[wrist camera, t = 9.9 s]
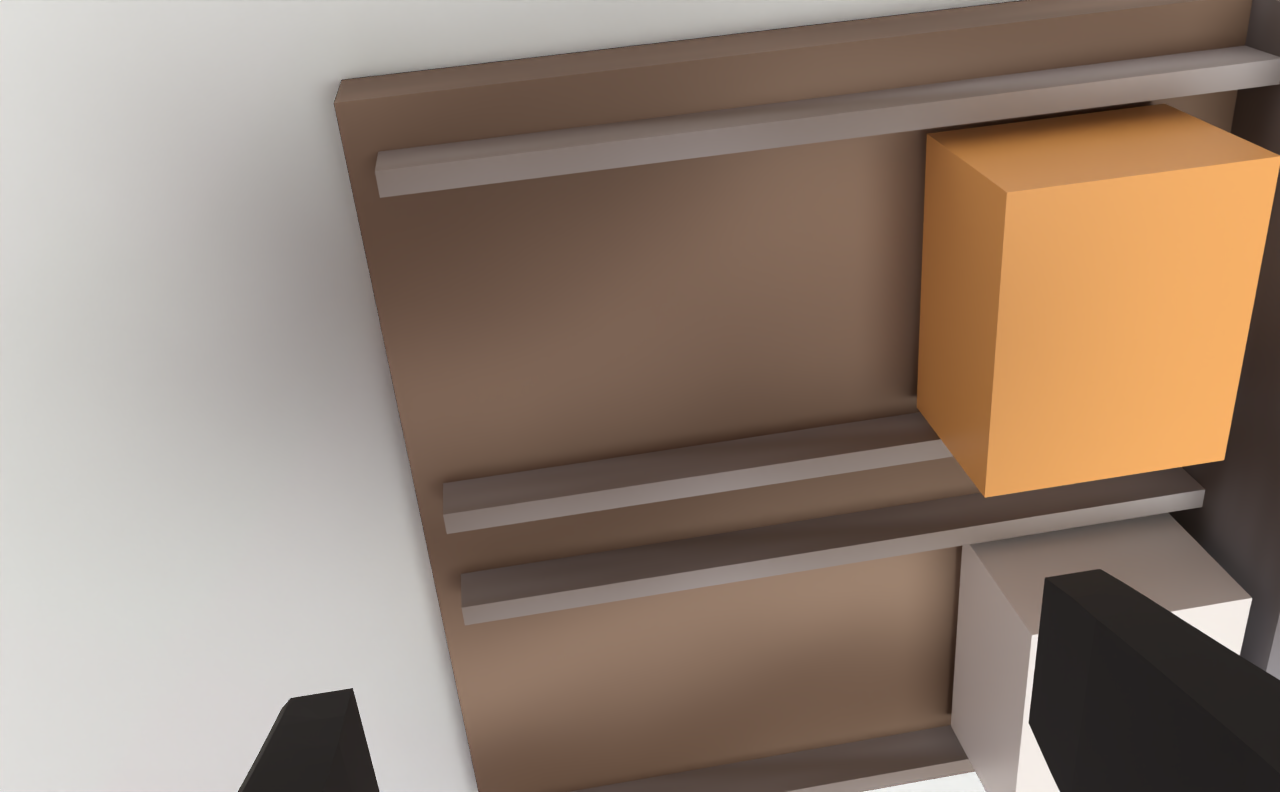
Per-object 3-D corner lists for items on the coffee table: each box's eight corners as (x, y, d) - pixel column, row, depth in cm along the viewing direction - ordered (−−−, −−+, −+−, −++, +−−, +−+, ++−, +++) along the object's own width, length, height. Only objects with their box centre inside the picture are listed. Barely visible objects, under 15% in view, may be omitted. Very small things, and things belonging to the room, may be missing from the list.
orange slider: (1127, 375, 21) (1223, 459, 19) (916, 407, 21) (984, 497, 18) (1164, 103, 19) (1282, 156, 16) (926, 134, 18) (1006, 192, 16)
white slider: (1128, 694, 25) (1208, 801, 22) (950, 725, 25) (1010, 838, 22) (1159, 503, 23) (1251, 597, 20) (963, 534, 22) (1031, 635, 20)
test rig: (1353, 642, 28) (1521, 801, 24) (487, 792, 26) (496, 996, 22) (1548, -61, 20) (1851, -17, 16) (342, 79, 18) (310, 173, 14)
